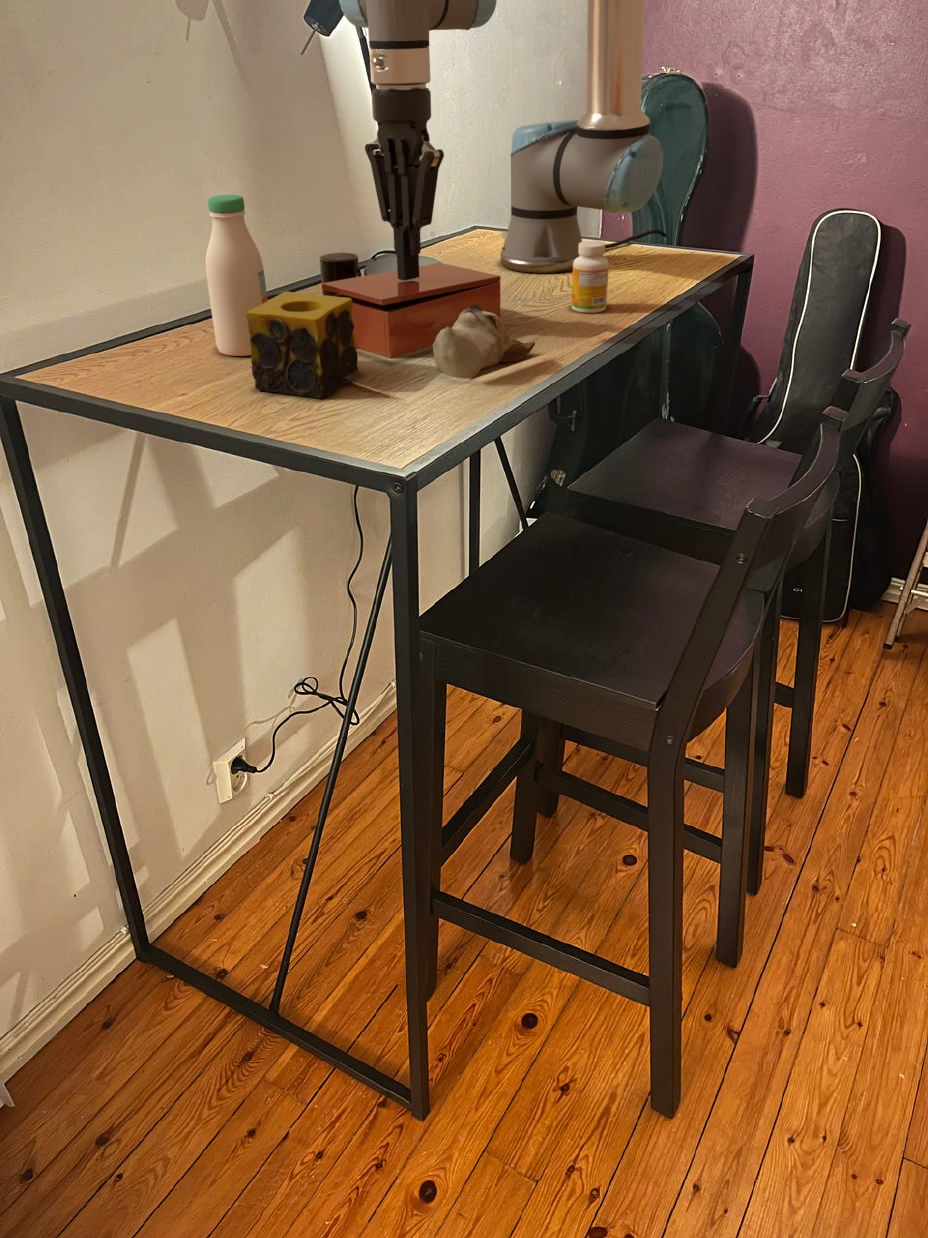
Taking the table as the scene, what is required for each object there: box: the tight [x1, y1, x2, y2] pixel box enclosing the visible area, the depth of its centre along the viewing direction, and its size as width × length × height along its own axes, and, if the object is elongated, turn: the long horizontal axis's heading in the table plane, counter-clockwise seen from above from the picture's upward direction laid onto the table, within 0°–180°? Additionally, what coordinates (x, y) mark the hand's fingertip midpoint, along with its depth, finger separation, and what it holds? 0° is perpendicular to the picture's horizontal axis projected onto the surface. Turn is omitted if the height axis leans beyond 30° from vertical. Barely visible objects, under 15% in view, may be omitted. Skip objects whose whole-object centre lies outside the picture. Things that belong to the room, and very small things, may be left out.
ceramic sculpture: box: [432, 305, 536, 381], centre depth 131 cm, size 11×9×15 cm
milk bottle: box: [205, 194, 269, 357], centre depth 137 cm, size 8×8×20 cm
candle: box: [246, 291, 359, 399], centre depth 127 cm, size 10×10×10 cm
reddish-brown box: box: [332, 281, 501, 360], centre depth 144 cm, size 22×13×7 cm, turn 135°
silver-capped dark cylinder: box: [319, 252, 363, 296], centre depth 150 cm, size 8×6×10 cm
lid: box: [321, 262, 501, 305], centre depth 142 cm, size 22×13×1 cm, turn 135°
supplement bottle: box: [571, 240, 610, 314], centre depth 155 cm, size 5×5×10 cm
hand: (408, 277), depth 141 cm, fingers closed
